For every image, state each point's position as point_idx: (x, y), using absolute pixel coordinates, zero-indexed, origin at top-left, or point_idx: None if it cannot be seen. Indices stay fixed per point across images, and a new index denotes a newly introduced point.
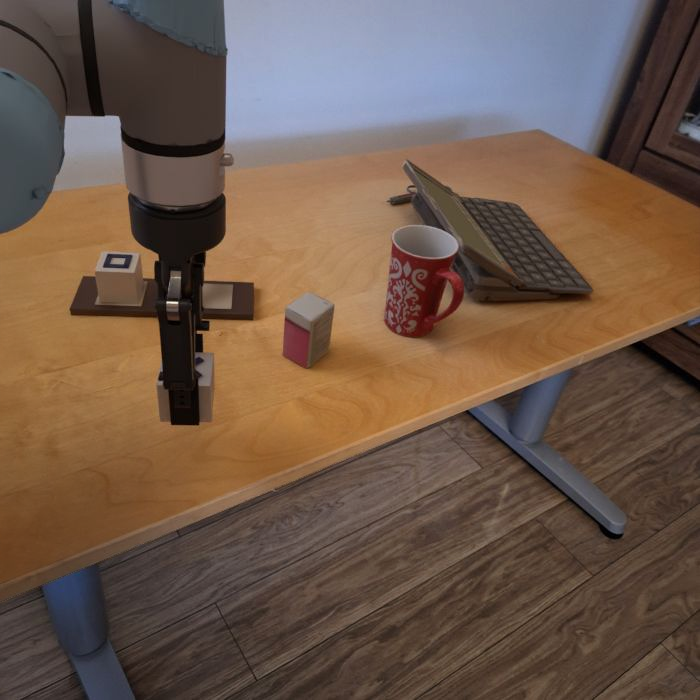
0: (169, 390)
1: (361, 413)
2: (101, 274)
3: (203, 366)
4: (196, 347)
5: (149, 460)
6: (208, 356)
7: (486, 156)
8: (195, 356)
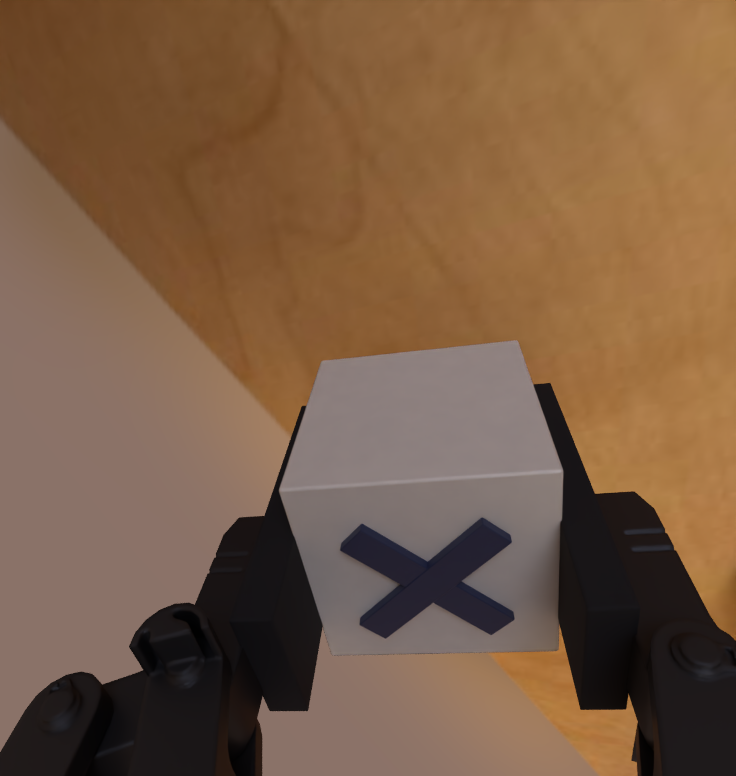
0: (257, 542)
1: (559, 651)
2: None
3: (450, 630)
4: (566, 626)
5: (354, 232)
6: (527, 637)
7: None
8: (522, 600)
